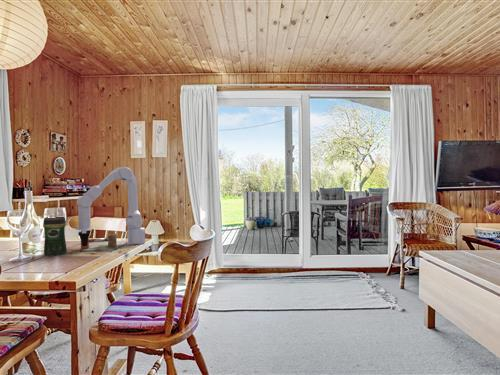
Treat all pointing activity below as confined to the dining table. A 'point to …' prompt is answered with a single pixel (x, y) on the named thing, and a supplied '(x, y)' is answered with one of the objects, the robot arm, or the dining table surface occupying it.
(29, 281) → the dining table surface
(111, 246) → the eye bracket
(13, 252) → the dining table surface
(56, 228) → the coffee jar
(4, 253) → the dining table surface
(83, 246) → the hook bolt
